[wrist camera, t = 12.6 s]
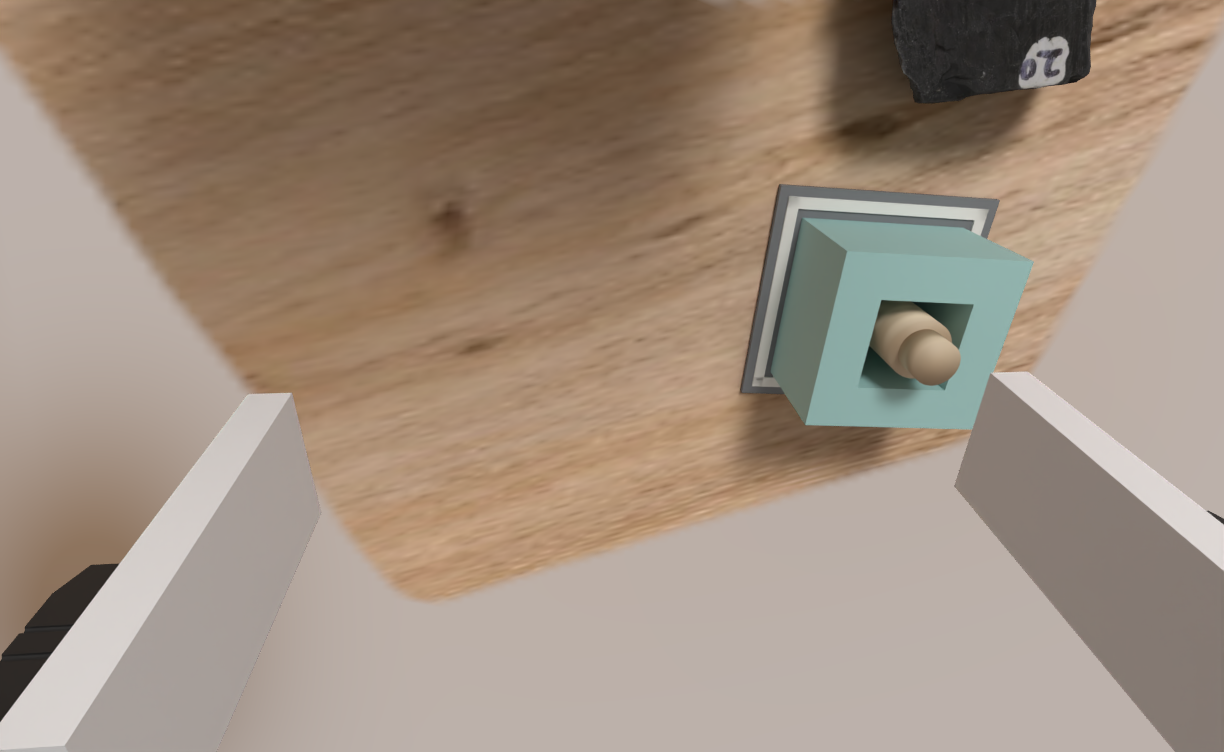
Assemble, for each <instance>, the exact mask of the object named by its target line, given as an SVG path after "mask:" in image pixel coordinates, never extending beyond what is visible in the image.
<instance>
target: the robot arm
mask: <svg viewBox="0 0 1224 752" xmlns="http://www.w3.org/2000/svg"><path fill="white" fill-rule="evenodd" d="M955 488H956V489H957V490H958V491H959V492H960V494H961V495H962V496H963V497H964V498H965V500H966V501H967V502H968V503H969V504H970V505H971V507H972V508H973V509H974V510H975V512H976V513H977V514H978V515H979V516H980V518H981V519H982V520H983V521H984V522H985V524H986V525H987V526H988V527H989V528H990V530H991V531H992V532H993V533H994V535H995V536H996V537H997V538H998V539H999V541H1000V542H1001V543H1002V544H1003V545H1004V547H1005V548H1006V549H1007V550H1008V551H1009V553H1010V554H1011V555H1012V556H1013V557H1014V558H1015V560H1016V561H1017V562H1018V563H1019V564H1020V566H1021V567H1022V568H1023V569H1024V571H1025V572H1026V573H1027V574H1028V575H1029V577H1030V578H1031V579H1032V580H1033V581H1034V583H1035V584H1036V585H1037V586H1038V587H1039V589H1040V590H1041V591H1042V592H1043V593H1044V595H1045V596H1046V597H1047V598H1048V599H1049V601H1050V602H1051V603H1052V604H1053V605H1054V607H1055V608H1056V609H1057V610H1058V611H1059V613H1060V614H1061V615H1062V616H1063V618H1064V619H1065V620H1066V621H1067V622H1068V624H1069V625H1070V626H1071V627H1072V628H1073V630H1074V631H1075V632H1076V633H1077V634H1078V636H1079V637H1080V638H1081V639H1082V640H1083V642H1084V643H1085V644H1086V645H1087V646H1088V648H1089V649H1090V650H1091V651H1092V652H1093V653H1094V655H1095V656H1096V657H1097V658H1098V660H1099V661H1100V662H1101V663H1102V664H1103V666H1104V667H1105V668H1106V669H1107V671H1108V672H1109V673H1110V674H1111V675H1112V677H1113V678H1114V679H1115V680H1116V681H1117V683H1118V684H1119V685H1120V686H1121V687H1122V689H1123V690H1124V691H1125V692H1126V693H1127V695H1128V696H1129V697H1130V698H1131V699H1132V700H1133V702H1134V703H1135V704H1136V705H1137V707H1138V708H1139V709H1140V710H1141V711H1142V712H1143V714H1144V715H1145V716H1146V717H1147V719H1148V720H1149V721H1150V722H1151V723H1152V725H1153V726H1154V727H1155V728H1156V729H1157V731H1158V732H1159V733H1160V734H1161V736H1162V737H1163V738H1164V739H1165V740H1166V742H1167V743H1168V744H1169V745H1170V746H1171V747H1172V749H1173V750H1174V751H1175V752H1224V519H1223V518H1221V517H1219V516H1217V515H1216V514H1214V513H1212V512H1210V511H1206V510H1204V509H1203V508H1202V507H1200V506H1199V505H1198V504H1197V503H1195V502H1194V501H1193V500H1191V499H1190V498H1189V497H1188V496H1186V495H1185V494H1184V493H1182V492H1181V491H1180V490H1179V489H1177V488H1176V487H1175V486H1174V485H1172V484H1171V483H1170V482H1168V481H1167V480H1166V479H1164V478H1163V477H1162V476H1161V475H1159V474H1158V473H1157V472H1156V471H1154V470H1153V469H1152V468H1150V467H1149V466H1148V465H1146V464H1145V463H1144V462H1143V461H1142V460H1140V459H1139V458H1138V457H1136V456H1135V455H1134V454H1133V453H1131V452H1130V451H1129V450H1127V449H1126V448H1125V447H1124V446H1122V445H1121V444H1120V443H1119V442H1117V441H1116V440H1115V439H1113V438H1112V437H1111V436H1110V435H1108V434H1107V433H1106V432H1104V431H1103V430H1102V429H1100V428H1099V427H1098V426H1097V425H1095V424H1094V423H1093V422H1092V421H1090V420H1089V419H1088V418H1087V417H1085V416H1084V415H1083V414H1081V413H1080V412H1079V411H1077V410H1076V409H1075V408H1074V407H1072V406H1071V405H1070V404H1069V403H1067V402H1066V401H1065V400H1063V399H1062V398H1061V397H1059V396H1058V395H1057V394H1055V393H1054V392H1053V391H1052V390H1051V389H1049V388H1048V387H1047V386H1046V385H1044V384H1043V383H1042V382H1040V381H1039V380H1038V379H1037V378H1035V377H1034V376H1033V375H1031V374H1030V373H1029V372H1000V373H990V376H989V379H988V382H987V385H986V388H985V391H984V395H983V398H982V401H981V404H980V407H979V410H978V413H977V416H976V420H975V423H974V426H973V429H972V432H971V435H970V438H969V442H968V445H967V448H966V451H965V454H964V457H963V461H962V463H961V467H960V470H959V473H958V476H957V479H956V483H955ZM320 515H321V509H320V505H319V501H318V497H317V493H316V489H315V485H314V481H313V477H312V473H311V469H310V465H309V460H308V456H307V452H306V448H305V444H304V440H303V436H302V432H301V428H300V424H299V420H298V416H297V411H296V407H295V403H294V399H293V395H292V393H268V394H247V395H246V397H245V398H244V399H243V401H242V402H241V403H240V405H239V406H238V407H237V409H236V410H235V411H234V413H233V414H232V415H231V417H230V418H229V419H228V421H227V422H226V423H225V425H224V426H223V427H222V429H221V430H220V431H219V433H218V434H217V435H216V437H215V438H214V439H213V441H212V442H211V443H210V445H209V446H208V447H207V449H206V450H205V451H204V453H203V454H202V455H201V457H200V458H199V459H198V461H197V462H196V463H195V464H194V466H193V467H192V468H191V470H190V471H189V473H188V474H187V475H186V476H185V478H184V479H183V480H182V482H181V483H180V484H179V486H178V487H177V488H176V490H175V491H174V492H173V494H172V495H171V497H170V498H169V499H168V500H167V502H166V503H165V504H164V506H163V507H162V508H161V510H160V511H159V512H158V514H157V515H156V516H155V518H154V519H153V520H152V522H151V523H150V524H149V525H148V527H147V528H146V529H145V531H144V532H143V533H142V535H141V536H140V538H139V539H138V540H137V541H136V543H135V544H134V545H133V547H132V548H131V549H130V551H129V552H128V554H127V555H126V556H125V557H124V559H123V560H122V561H121V563H120V564H103V565H90V566H89V567H88V568H86V569H85V570H84V571H82V572H81V573H80V574H79V575H77V576H76V577H74V578H73V579H72V580H70V581H69V582H68V583H66V584H65V585H63V586H62V587H61V588H59V589H58V590H57V591H55V592H54V593H53V594H52V595H51V596H50V597H49V598H48V599H47V601H46V602H45V603H44V604H43V606H42V607H41V608H40V609H39V610H38V612H37V613H36V614H35V615H34V617H33V618H32V619H31V620H30V621H29V622H28V624H27V625H26V626H25V632H24V633H21V634H18V636H17V637H16V638H15V639H14V641H13V642H12V643H11V644H10V645H9V647H8V648H7V649H6V650H5V651H4V653H3V654H2V660H1V661H0V752H217V750H218V747H219V745H220V743H221V741H222V738H223V736H224V734H225V732H226V729H227V727H228V725H229V722H230V720H231V718H232V716H233V713H234V711H235V709H236V707H237V704H238V702H239V700H240V697H241V695H242V693H243V690H244V688H245V686H246V684H247V681H248V679H249V676H250V675H251V672H252V670H253V668H254V665H255V663H256V661H257V659H258V656H259V654H260V652H261V649H262V647H263V645H264V642H265V640H266V638H267V636H268V633H269V631H270V629H271V626H272V624H273V622H274V620H275V617H276V615H277V613H278V610H279V608H280V606H281V604H282V601H283V599H284V597H285V595H286V592H287V590H288V588H289V585H290V583H291V581H292V578H293V576H294V574H295V572H296V569H297V567H298V565H299V563H300V560H301V558H302V556H303V553H304V551H305V549H306V547H307V544H308V542H309V540H310V537H311V535H312V533H313V531H314V528H315V526H316V524H317V521H318V519H319V517H320Z"/></svg>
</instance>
